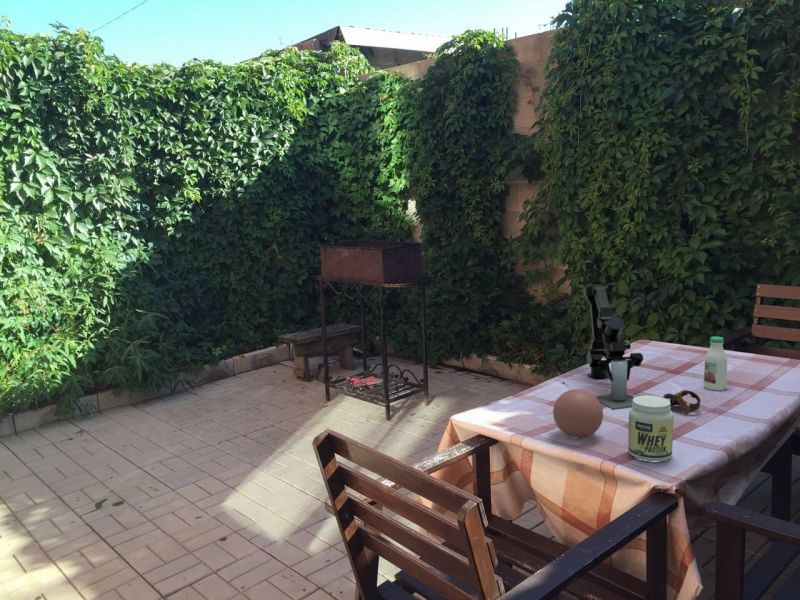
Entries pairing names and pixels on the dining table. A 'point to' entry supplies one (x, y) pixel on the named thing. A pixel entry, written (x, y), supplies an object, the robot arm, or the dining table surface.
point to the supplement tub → (650, 428)
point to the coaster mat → (615, 401)
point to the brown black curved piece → (683, 401)
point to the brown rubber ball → (578, 413)
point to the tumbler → (619, 379)
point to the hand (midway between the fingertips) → (619, 380)
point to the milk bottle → (715, 365)
